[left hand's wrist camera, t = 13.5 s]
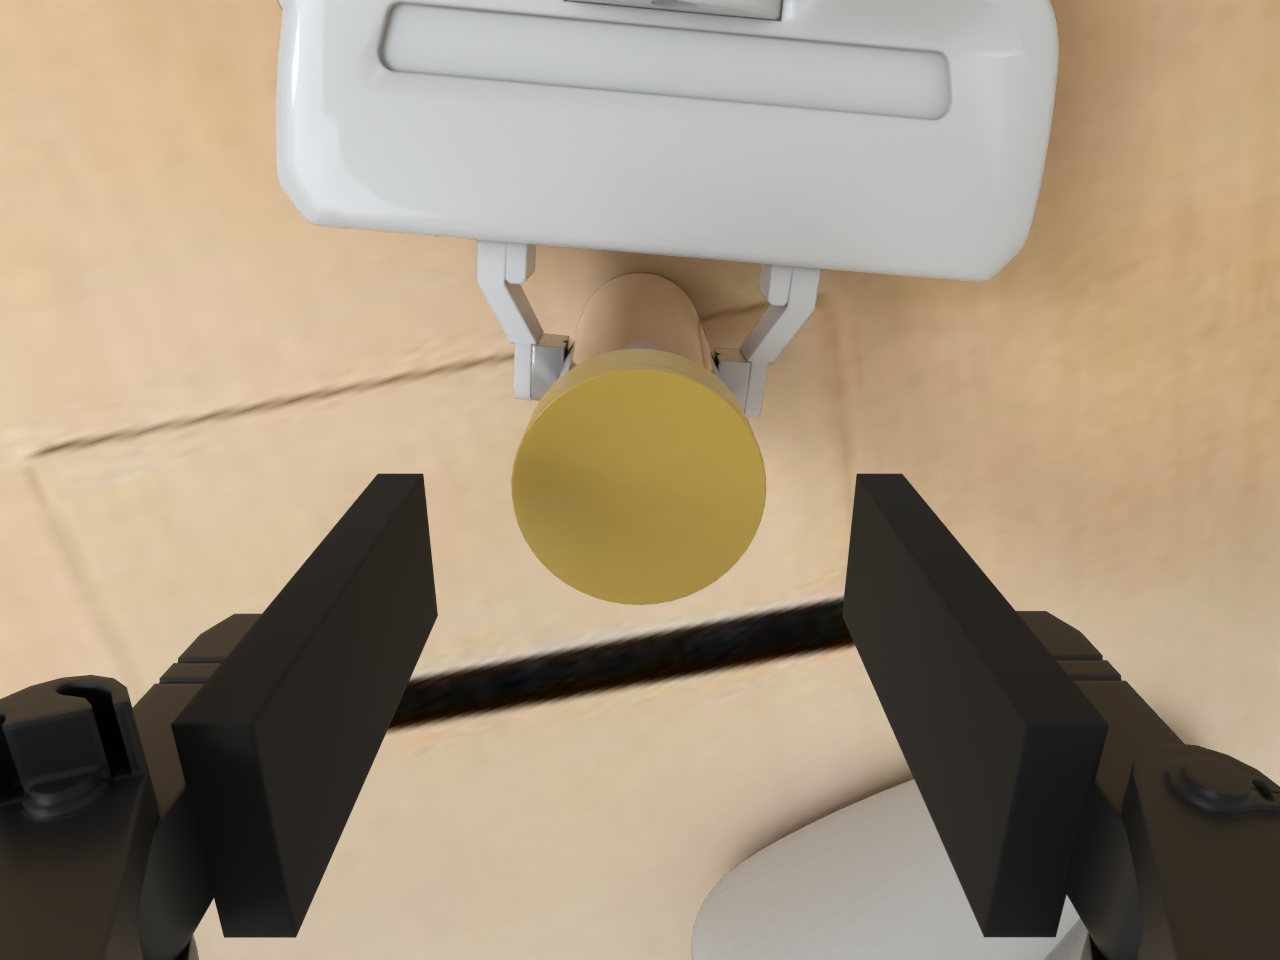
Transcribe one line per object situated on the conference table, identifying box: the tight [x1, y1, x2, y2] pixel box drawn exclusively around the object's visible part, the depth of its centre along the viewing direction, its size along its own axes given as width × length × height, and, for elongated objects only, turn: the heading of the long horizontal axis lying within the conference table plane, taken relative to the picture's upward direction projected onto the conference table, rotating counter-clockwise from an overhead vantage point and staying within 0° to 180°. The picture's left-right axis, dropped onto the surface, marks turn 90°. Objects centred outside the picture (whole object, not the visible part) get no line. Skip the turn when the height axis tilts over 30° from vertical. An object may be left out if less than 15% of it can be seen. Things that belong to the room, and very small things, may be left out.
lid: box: [512, 348, 766, 605], centre depth 17 cm, size 5×5×2 cm
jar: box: [558, 273, 721, 380], centre depth 24 cm, size 5×5×15 cm
